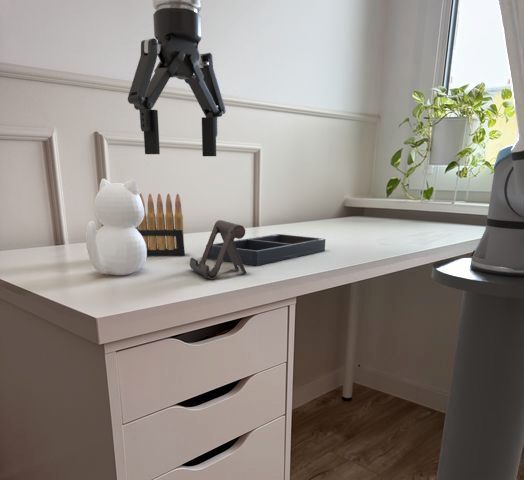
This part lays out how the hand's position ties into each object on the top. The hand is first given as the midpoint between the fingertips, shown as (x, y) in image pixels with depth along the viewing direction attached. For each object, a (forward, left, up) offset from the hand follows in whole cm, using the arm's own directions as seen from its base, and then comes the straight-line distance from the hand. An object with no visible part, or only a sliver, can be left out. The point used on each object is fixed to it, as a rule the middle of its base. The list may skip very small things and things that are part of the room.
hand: (182, 155), depth 89 cm
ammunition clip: (+12, -4, -19) cm, 23 cm away
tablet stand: (-10, +3, -19) cm, 22 cm away
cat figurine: (+3, +14, -19) cm, 23 cm away
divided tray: (-4, -19, -19) cm, 27 cm away
